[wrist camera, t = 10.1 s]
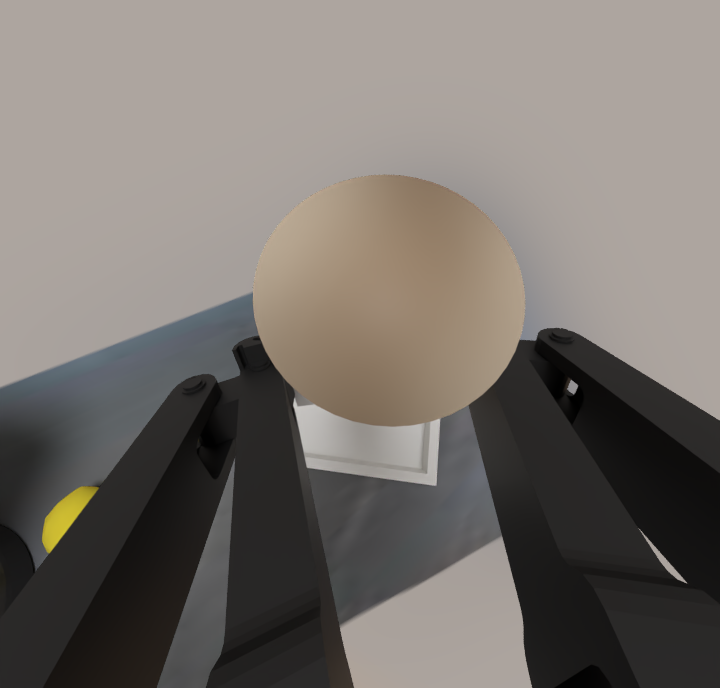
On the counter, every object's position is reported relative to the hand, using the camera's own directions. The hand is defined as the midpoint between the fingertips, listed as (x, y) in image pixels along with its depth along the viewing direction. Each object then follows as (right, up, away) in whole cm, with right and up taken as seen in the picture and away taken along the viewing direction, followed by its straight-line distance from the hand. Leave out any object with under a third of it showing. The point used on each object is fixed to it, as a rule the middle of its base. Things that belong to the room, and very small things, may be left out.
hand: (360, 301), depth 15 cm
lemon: (-28, -21, +14) cm, 38 cm away
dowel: (0, -5, +3) cm, 6 cm away
